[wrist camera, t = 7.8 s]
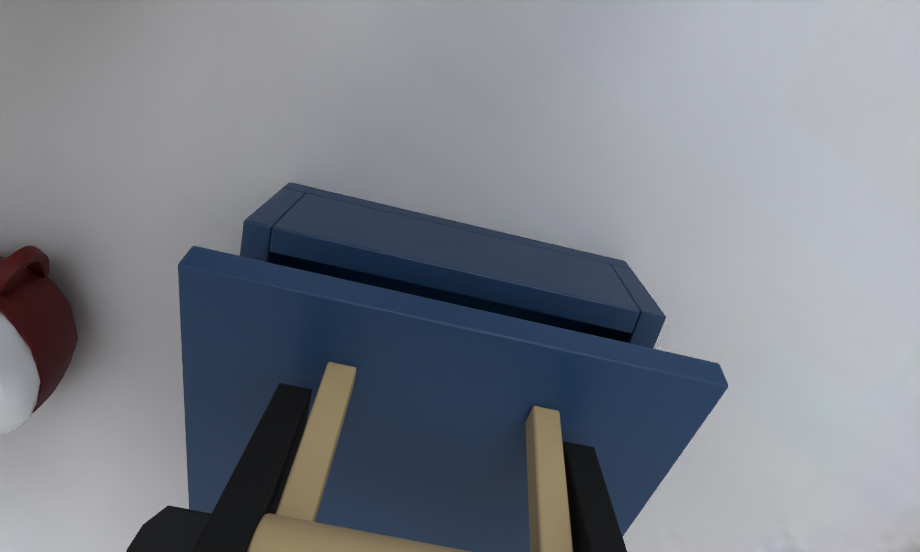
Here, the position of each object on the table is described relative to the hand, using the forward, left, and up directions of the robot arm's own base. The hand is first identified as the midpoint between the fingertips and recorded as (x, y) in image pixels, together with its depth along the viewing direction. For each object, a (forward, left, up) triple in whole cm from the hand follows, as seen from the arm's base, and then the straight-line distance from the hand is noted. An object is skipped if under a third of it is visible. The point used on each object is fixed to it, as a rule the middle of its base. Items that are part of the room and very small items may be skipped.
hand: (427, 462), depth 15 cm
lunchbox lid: (0, -3, -3) cm, 4 cm away
